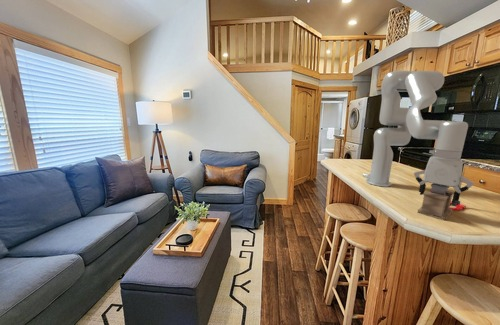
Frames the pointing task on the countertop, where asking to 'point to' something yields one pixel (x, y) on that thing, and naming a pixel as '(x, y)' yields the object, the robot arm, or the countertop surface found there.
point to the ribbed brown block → (436, 205)
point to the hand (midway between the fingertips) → (437, 197)
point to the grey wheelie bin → (439, 189)
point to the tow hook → (457, 203)
